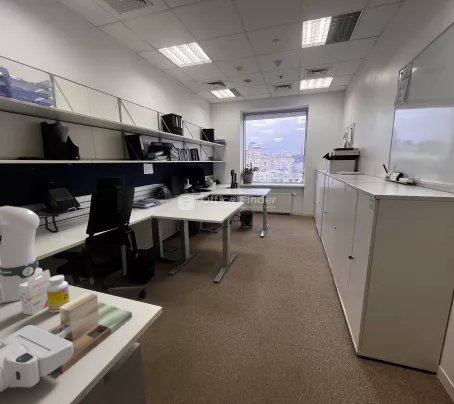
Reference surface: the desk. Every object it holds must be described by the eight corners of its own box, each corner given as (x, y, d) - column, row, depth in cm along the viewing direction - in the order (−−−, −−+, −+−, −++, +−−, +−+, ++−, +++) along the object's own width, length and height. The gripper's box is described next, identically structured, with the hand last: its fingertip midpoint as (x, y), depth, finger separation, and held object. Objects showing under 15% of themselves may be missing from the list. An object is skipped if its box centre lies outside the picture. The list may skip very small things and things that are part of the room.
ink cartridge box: (44, 300, 90) (40, 267, 88) (54, 302, 89) (50, 268, 87) (21, 313, 82) (16, 277, 80) (32, 315, 81) (27, 279, 79)
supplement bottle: (67, 311, 83) (63, 280, 82) (46, 315, 81) (42, 283, 79) (72, 301, 90) (69, 272, 88) (52, 305, 87) (49, 275, 85)
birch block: (62, 336, 68) (59, 307, 67) (89, 318, 76) (86, 292, 75) (73, 340, 66) (69, 310, 65) (99, 321, 75) (97, 295, 73)
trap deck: (24, 351, 64) (23, 346, 64) (97, 306, 87) (97, 301, 86) (63, 372, 58) (62, 365, 58) (132, 317, 80) (131, 312, 80)
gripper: (-11, 361, 57) (48, 327, 70) (36, 389, 50) (92, 346, 63) (-14, 340, 57) (46, 309, 69) (33, 365, 49) (90, 326, 62)
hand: (68, 327), depth 66 cm, fingers closed, pressing on birch block
